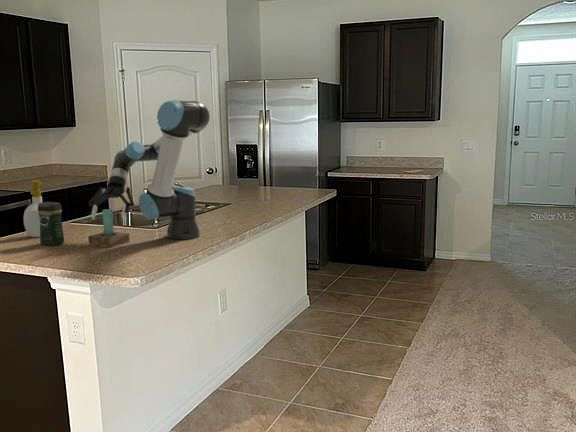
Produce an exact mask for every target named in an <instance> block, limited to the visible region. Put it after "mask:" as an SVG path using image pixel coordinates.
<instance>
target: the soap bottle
mask: <svg viewBox="0 0 576 432" xmlns="http://www.w3.org/2000/svg"><path fill="white" fill-rule="evenodd" d="M40 185H41V186H43V183H42V182H41V181H40V180H31V186H32V197H31V200H32V201H31V202H32V203H31V204H29V205H27V207H26V209H25V210H24V213H23V226H24V229H25V231H26V233H27V234H28V236H29V237H30V238H40V218H39V214H38V204H39V203H43V196H42V193H41V192H42V190H41V189H40Z"/></svg>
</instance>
